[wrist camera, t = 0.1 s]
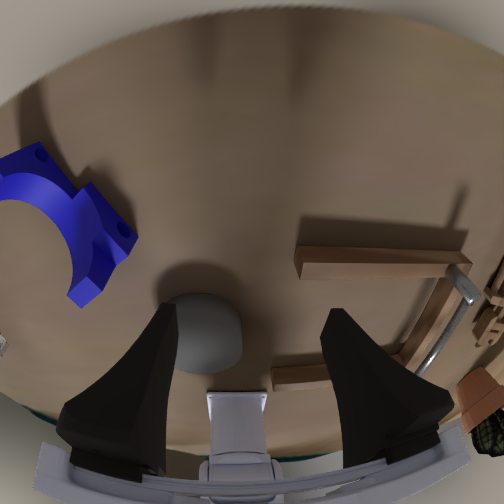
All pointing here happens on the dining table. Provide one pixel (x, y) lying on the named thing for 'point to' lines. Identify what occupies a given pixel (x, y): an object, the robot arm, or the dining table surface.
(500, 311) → the wooden figure
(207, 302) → the grey round dome
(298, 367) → the frame
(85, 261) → the blue curved piece
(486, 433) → the potted plant
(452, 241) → the dining table surface
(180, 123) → the dining table surface
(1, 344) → the architectural model
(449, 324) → the metal handle
